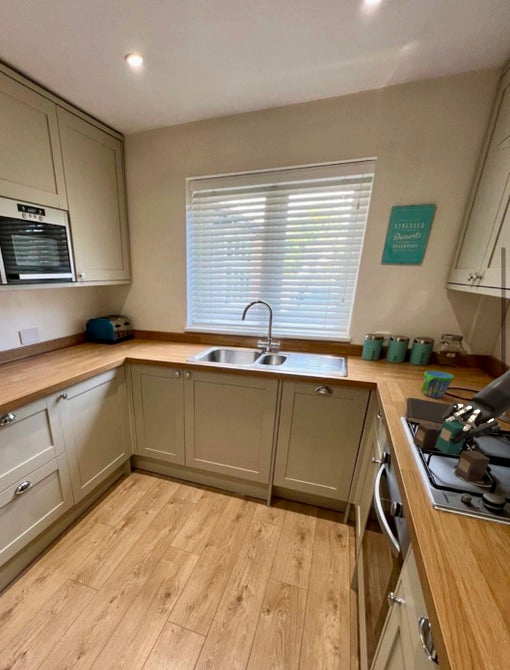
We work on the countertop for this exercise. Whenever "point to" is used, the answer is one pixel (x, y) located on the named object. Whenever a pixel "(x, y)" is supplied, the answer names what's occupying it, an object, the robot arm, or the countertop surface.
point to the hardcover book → (426, 411)
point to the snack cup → (436, 383)
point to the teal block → (446, 433)
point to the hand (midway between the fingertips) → (444, 437)
